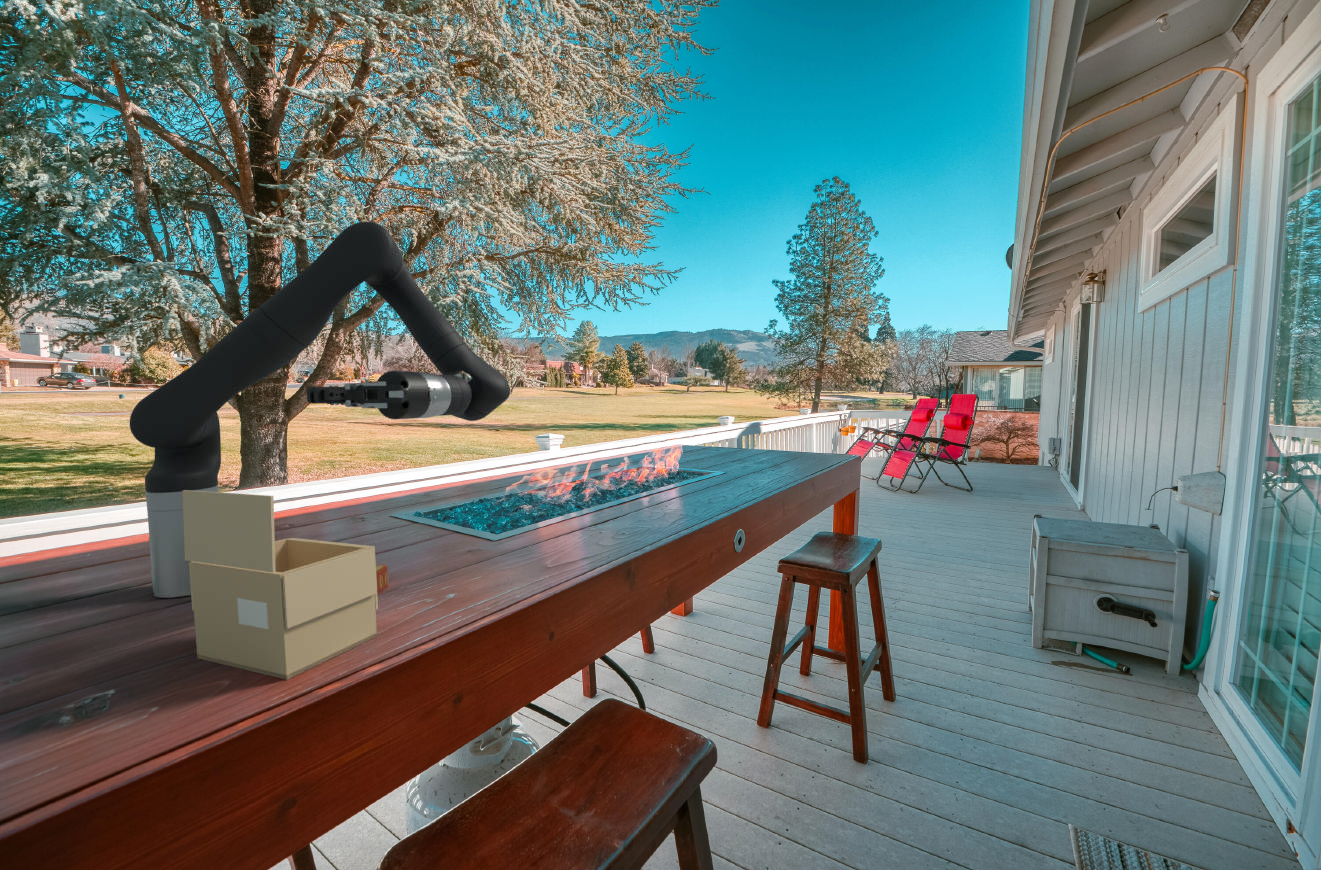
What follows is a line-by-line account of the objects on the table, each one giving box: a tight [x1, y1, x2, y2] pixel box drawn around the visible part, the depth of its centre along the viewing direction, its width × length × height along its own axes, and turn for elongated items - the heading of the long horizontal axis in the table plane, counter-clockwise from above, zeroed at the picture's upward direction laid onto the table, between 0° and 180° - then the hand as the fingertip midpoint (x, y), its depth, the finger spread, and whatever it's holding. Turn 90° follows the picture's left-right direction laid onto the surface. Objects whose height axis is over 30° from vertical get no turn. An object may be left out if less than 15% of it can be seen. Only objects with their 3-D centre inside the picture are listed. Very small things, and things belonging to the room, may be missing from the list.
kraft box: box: [189, 537, 379, 681], centre depth 70 cm, size 17×13×12 cm
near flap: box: [183, 490, 276, 573], centre depth 64 cm, size 16×8×1 cm
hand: (312, 395), depth 73 cm, fingers closed
